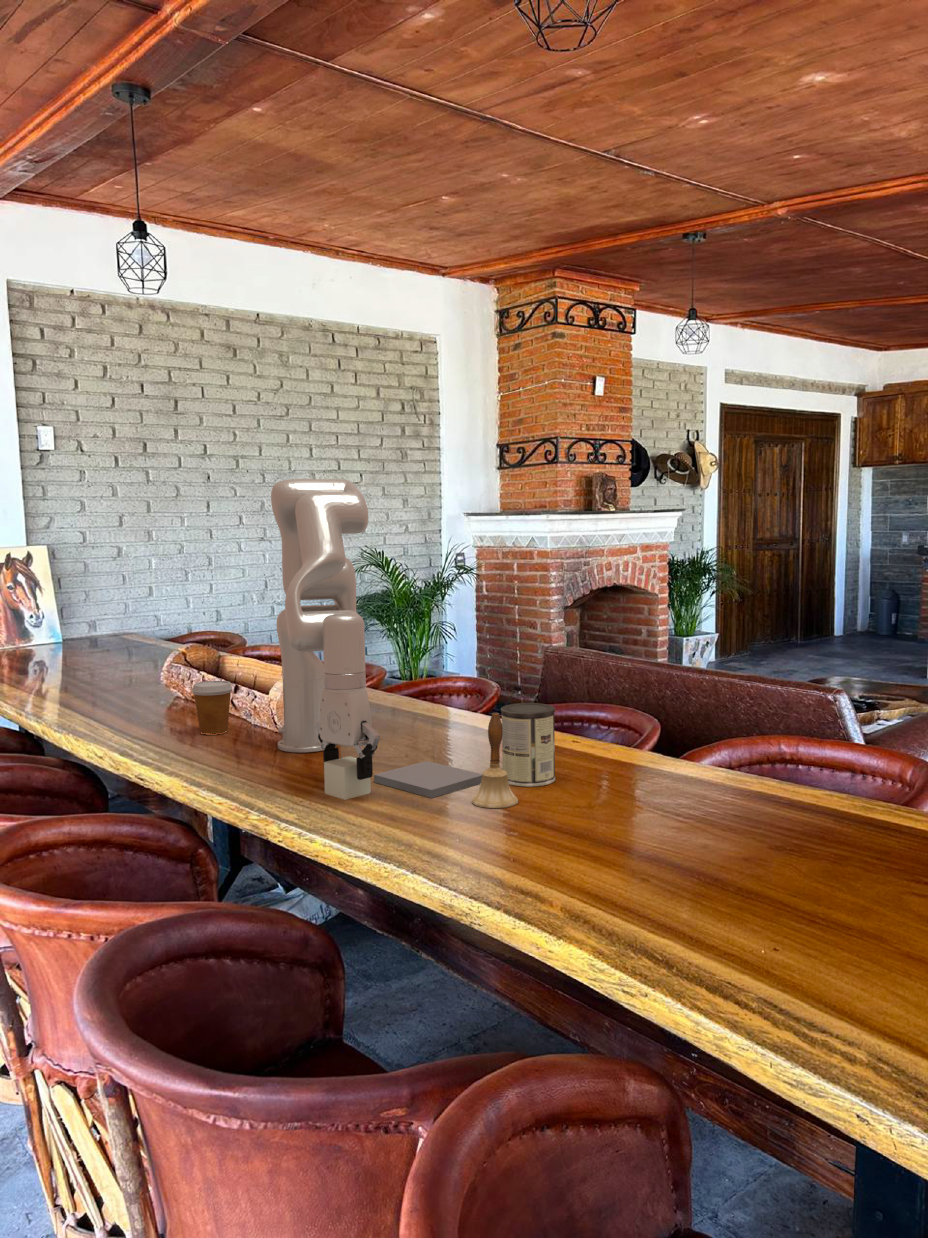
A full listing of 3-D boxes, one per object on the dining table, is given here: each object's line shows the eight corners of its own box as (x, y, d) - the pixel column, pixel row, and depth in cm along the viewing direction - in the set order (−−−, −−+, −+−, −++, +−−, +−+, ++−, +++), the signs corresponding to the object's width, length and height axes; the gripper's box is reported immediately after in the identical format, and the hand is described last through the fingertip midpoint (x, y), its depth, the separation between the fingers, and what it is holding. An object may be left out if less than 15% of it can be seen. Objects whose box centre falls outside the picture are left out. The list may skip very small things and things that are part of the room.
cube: (324, 794, 174) (323, 762, 173) (350, 787, 178) (349, 756, 177) (345, 800, 170) (344, 767, 169) (370, 793, 174) (370, 761, 173)
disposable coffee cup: (242, 731, 228) (240, 682, 227) (212, 738, 220) (210, 688, 219) (215, 727, 233) (213, 679, 232) (185, 734, 225) (182, 685, 224)
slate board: (374, 782, 181) (373, 774, 181) (427, 768, 191) (426, 761, 191) (431, 798, 170) (431, 790, 170) (484, 782, 180) (484, 774, 180)
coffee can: (513, 770, 188) (512, 701, 187) (562, 776, 184) (562, 704, 182) (493, 783, 179) (492, 710, 177) (544, 789, 174) (544, 714, 173)
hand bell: (494, 792, 173) (493, 707, 171) (528, 801, 167) (527, 713, 165) (461, 802, 167) (460, 713, 166) (495, 812, 161) (494, 720, 160)
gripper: (300, 680, 175) (303, 770, 176) (359, 688, 163) (362, 786, 164) (332, 675, 180) (335, 763, 182) (392, 683, 168) (394, 777, 170)
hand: (347, 774), depth 173 cm, fingers open, 9 cm apart
